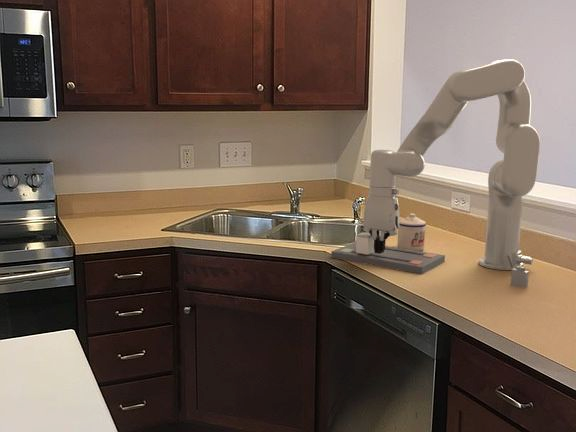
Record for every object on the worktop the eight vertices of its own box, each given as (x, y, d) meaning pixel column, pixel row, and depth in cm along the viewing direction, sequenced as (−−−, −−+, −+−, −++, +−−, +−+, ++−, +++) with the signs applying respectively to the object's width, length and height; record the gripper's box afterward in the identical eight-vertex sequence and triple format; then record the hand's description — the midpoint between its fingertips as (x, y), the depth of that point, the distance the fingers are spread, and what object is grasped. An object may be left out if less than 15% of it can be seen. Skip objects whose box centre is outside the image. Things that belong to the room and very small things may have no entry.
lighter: (527, 286, 175) (530, 257, 174) (525, 288, 174) (527, 259, 172) (502, 281, 180) (504, 253, 178) (499, 282, 178) (501, 254, 177)
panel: (444, 261, 199) (445, 254, 199) (422, 274, 186) (422, 266, 185) (357, 247, 216) (357, 240, 216) (331, 257, 202) (331, 250, 202)
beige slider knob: (373, 252, 200) (374, 234, 199) (367, 254, 196) (368, 236, 195) (362, 250, 202) (362, 232, 201) (356, 252, 199) (356, 234, 198)
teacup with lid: (414, 253, 209) (415, 217, 207) (390, 248, 215) (392, 213, 213) (435, 247, 217) (437, 213, 215) (412, 242, 223) (413, 209, 221)
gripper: (410, 193, 192) (407, 254, 195) (365, 188, 200) (363, 246, 203) (399, 196, 186) (396, 259, 189) (353, 191, 194) (351, 251, 197)
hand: (379, 252), depth 196 cm, fingers closed
